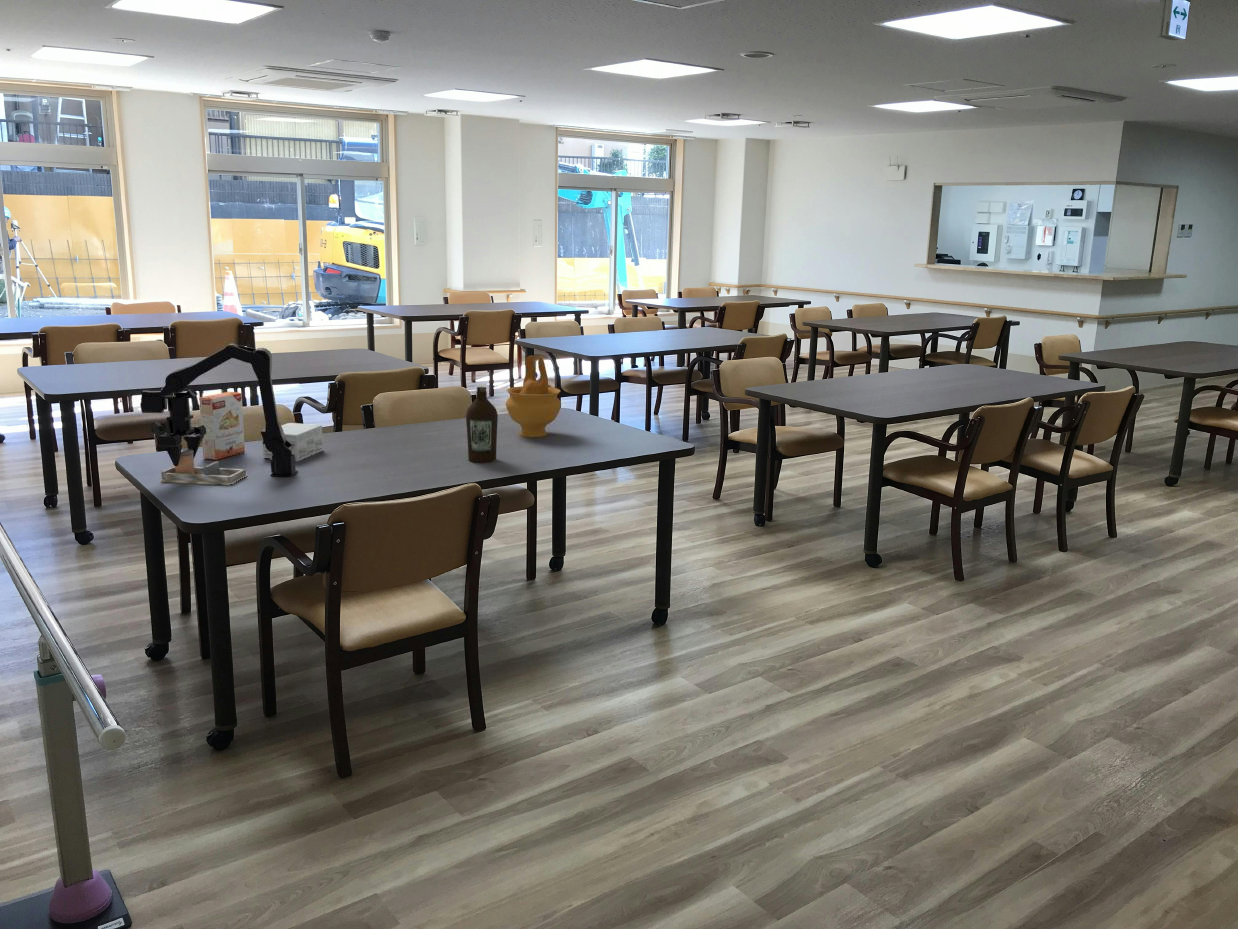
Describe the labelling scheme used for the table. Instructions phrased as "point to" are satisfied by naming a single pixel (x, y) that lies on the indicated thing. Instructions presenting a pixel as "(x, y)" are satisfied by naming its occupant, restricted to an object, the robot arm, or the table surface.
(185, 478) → the shallow rectangular tray
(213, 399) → the cracker box
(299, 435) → the supplement box
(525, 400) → the decorative bowl
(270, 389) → the robot arm
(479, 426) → the olive oil
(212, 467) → the pusher plate
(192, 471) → the jar
